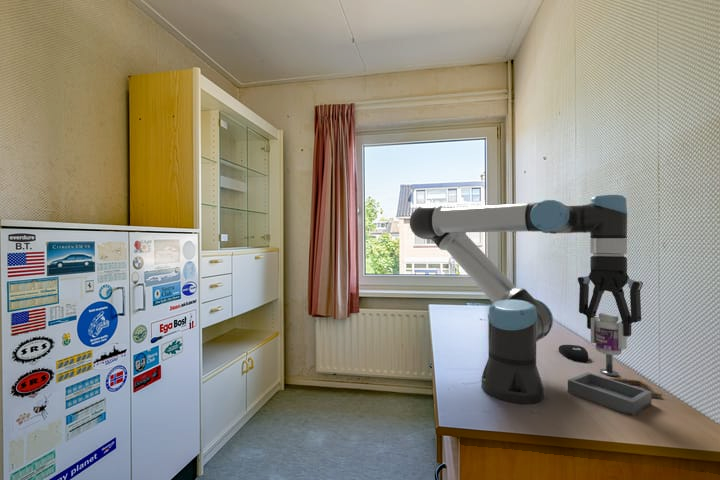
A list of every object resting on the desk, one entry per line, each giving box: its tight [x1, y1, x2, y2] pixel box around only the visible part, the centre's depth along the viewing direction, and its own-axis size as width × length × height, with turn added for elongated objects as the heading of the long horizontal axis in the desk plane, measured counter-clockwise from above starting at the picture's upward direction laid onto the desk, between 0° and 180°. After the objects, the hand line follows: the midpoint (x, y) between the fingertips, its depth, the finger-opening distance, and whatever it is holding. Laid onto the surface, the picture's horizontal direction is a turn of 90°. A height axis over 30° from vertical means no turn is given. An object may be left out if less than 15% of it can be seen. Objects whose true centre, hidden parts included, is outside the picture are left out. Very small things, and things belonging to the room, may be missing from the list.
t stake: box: [599, 354, 619, 378], centre depth 99 cm, size 4×6×13 cm
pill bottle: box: [595, 312, 622, 356], centre depth 83 cm, size 5×5×10 cm
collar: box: [605, 376, 663, 399], centre depth 88 cm, size 9×9×1 cm
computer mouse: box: [558, 343, 589, 363], centre depth 114 cm, size 8×12×4 cm, turn 166°
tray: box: [567, 371, 652, 417], centre depth 82 cm, size 11×14×3 cm
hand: (608, 345), depth 83 cm, fingers closed on pill bottle, 5 cm apart
